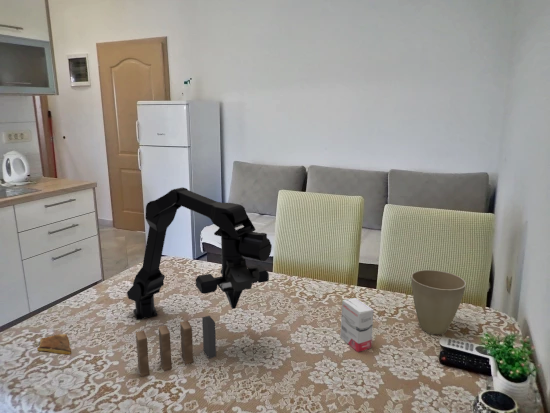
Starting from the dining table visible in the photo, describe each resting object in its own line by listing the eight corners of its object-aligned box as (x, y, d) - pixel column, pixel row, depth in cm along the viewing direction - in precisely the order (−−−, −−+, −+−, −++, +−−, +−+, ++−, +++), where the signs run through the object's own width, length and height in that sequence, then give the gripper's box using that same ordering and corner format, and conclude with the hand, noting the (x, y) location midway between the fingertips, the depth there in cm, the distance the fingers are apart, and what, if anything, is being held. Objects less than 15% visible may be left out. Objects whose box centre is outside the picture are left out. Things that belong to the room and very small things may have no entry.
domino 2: (163, 370, 100) (161, 334, 98) (160, 362, 104) (158, 327, 102) (171, 368, 101) (169, 332, 99) (168, 359, 105) (166, 325, 103)
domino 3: (185, 364, 103) (184, 329, 101) (181, 356, 106) (180, 322, 104) (193, 362, 104) (191, 327, 102) (189, 354, 107) (187, 320, 105)
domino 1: (141, 376, 98) (138, 340, 96) (138, 367, 102) (135, 332, 99) (149, 374, 99) (146, 338, 97) (146, 365, 102) (143, 330, 100)
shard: (72, 356, 107) (71, 350, 106) (38, 365, 103) (38, 359, 102) (67, 337, 116) (67, 331, 115) (37, 345, 112) (36, 339, 111)
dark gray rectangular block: (208, 358, 106) (207, 324, 103) (203, 351, 109) (202, 317, 107) (216, 356, 107) (215, 322, 104) (210, 348, 110) (209, 315, 108)
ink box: (372, 348, 111) (374, 309, 108) (357, 352, 109) (360, 313, 106) (353, 333, 118) (355, 296, 116) (339, 337, 116) (341, 299, 114)
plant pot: (466, 327, 122) (473, 278, 118) (448, 347, 111) (455, 294, 108) (419, 311, 132) (423, 265, 128) (398, 328, 121) (402, 279, 118)
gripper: (207, 269, 94) (209, 330, 97) (278, 257, 102) (278, 313, 105) (194, 254, 103) (196, 310, 107) (260, 244, 112) (260, 296, 115)
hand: (233, 308), depth 108 cm, fingers closed
